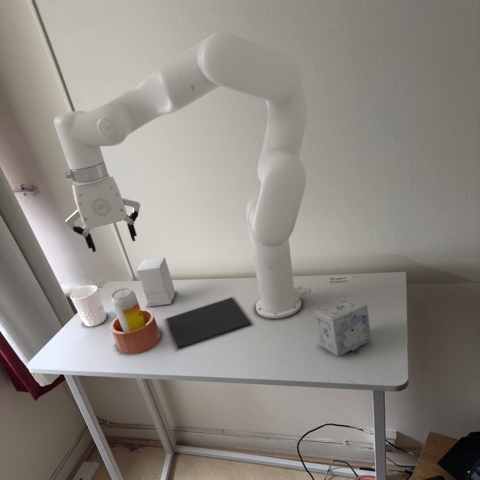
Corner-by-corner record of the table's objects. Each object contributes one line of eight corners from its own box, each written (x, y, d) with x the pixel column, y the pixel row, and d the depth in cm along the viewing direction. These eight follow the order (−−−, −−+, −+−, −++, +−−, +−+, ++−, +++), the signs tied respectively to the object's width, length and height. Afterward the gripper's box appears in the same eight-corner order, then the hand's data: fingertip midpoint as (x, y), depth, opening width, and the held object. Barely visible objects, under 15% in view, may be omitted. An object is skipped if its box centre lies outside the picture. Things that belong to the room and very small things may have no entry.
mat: (231, 299, 125) (231, 297, 125) (250, 324, 112) (250, 323, 112) (166, 319, 121) (166, 318, 121) (178, 349, 108) (178, 347, 108)
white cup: (84, 330, 124) (72, 302, 118) (80, 319, 130) (68, 291, 124) (110, 320, 126) (99, 292, 121) (105, 310, 132) (94, 282, 127)
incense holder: (348, 328, 103) (347, 291, 98) (372, 344, 97) (372, 306, 91) (315, 343, 101) (312, 306, 95) (337, 361, 94) (335, 322, 88)
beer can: (154, 335, 115) (138, 287, 107) (141, 348, 111) (123, 300, 103) (137, 332, 118) (120, 286, 110) (123, 345, 114) (104, 298, 106)
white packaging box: (176, 292, 134) (165, 256, 128) (170, 304, 128) (159, 267, 122) (154, 294, 136) (143, 259, 129) (147, 306, 130) (135, 270, 123)
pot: (156, 323, 120) (150, 304, 117) (163, 344, 111) (156, 324, 107) (116, 336, 118) (108, 317, 115) (120, 359, 109) (112, 338, 105)
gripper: (49, 186, 89) (78, 259, 98) (130, 167, 92) (151, 240, 101) (50, 179, 95) (77, 249, 104) (126, 161, 98) (146, 231, 107)
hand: (114, 244), depth 103 cm, fingers open, 9 cm apart
